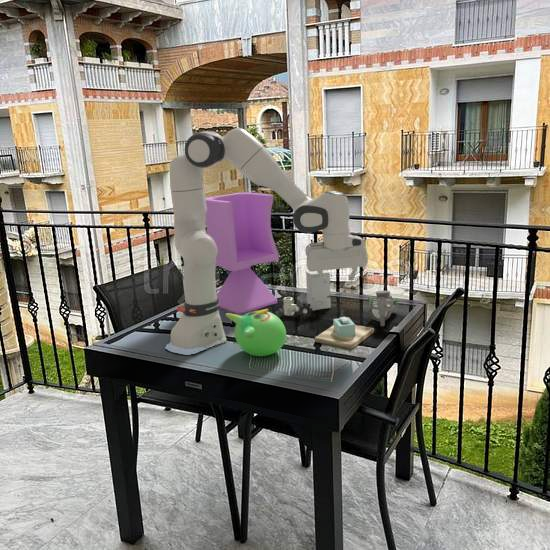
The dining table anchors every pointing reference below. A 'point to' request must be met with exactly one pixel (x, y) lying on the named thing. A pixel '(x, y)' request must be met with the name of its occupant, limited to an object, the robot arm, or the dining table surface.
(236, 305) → the chair
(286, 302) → the valve
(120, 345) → the dining table surface
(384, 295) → the pipe fitting
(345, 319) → the steel key shaft
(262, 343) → the toy bird
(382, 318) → the mechanical component
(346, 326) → the teal collar
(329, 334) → the oak plate
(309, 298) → the skincare box
